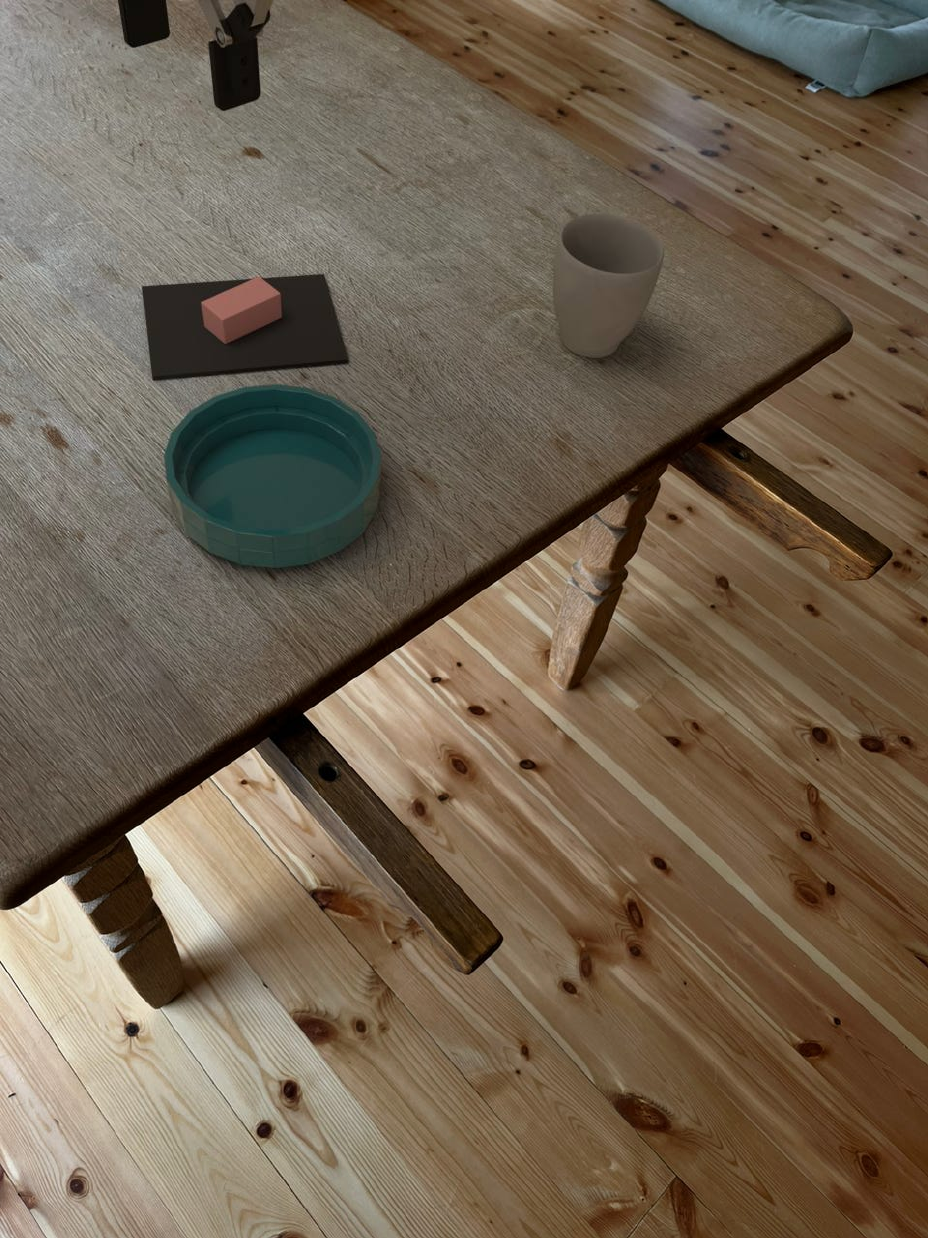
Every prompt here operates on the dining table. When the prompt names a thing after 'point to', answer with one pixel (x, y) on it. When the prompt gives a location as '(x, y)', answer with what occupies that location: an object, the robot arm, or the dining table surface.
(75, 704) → the dining table surface
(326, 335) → the mat
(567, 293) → the mug
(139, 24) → the robot arm
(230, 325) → the eraser
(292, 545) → the bowl
